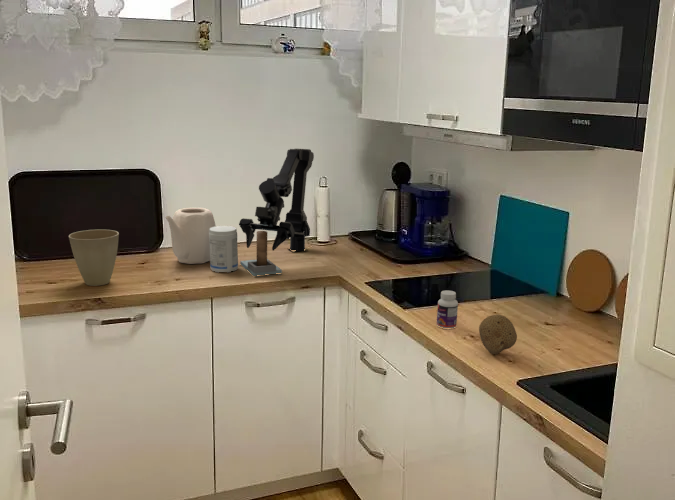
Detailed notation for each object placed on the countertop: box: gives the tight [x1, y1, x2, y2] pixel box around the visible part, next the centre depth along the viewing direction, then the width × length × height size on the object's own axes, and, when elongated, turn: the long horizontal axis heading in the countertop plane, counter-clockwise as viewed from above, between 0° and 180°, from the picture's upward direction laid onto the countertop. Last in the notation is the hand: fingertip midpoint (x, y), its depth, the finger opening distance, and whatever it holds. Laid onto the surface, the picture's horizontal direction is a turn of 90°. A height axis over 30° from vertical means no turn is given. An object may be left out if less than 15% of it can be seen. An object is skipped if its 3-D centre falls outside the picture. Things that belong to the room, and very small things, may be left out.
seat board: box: [239, 258, 283, 277], centre depth 237 cm, size 17×10×4 cm, turn 24°
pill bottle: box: [436, 290, 459, 329], centre depth 185 cm, size 5×5×10 cm
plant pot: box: [68, 229, 120, 287], centre depth 216 cm, size 15×15×16 cm
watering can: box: [165, 207, 217, 265], centre depth 244 cm, size 16×27×19 cm, turn 154°
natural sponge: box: [478, 314, 518, 355], centre depth 167 cm, size 9×9×10 cm
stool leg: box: [256, 230, 268, 266], centre depth 231 cm, size 4×4×13 cm
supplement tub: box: [209, 225, 239, 273], centre depth 235 cm, size 10×10×15 cm
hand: (260, 248), depth 230 cm, fingers open, 9 cm apart
